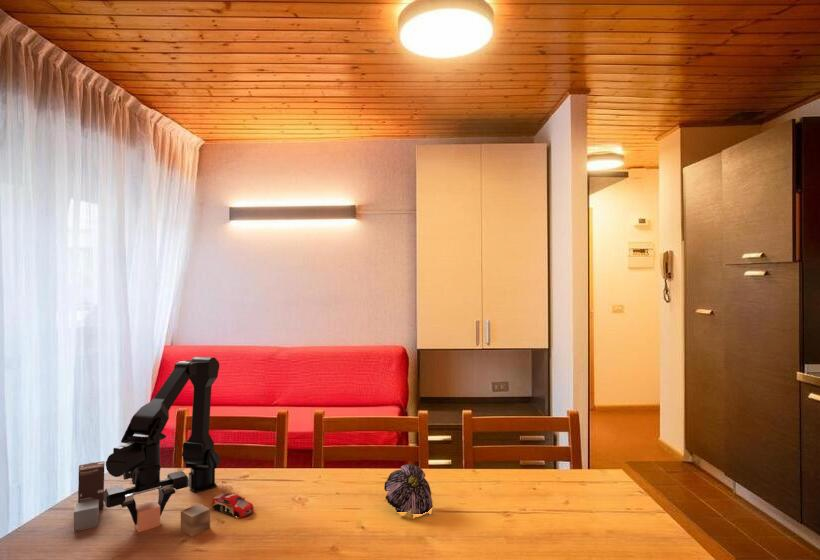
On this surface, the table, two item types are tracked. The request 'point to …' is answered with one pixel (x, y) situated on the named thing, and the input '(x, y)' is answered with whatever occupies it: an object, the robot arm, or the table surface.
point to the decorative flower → (409, 490)
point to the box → (91, 483)
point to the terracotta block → (147, 515)
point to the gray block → (86, 515)
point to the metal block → (195, 519)
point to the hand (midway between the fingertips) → (147, 520)
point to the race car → (232, 504)
